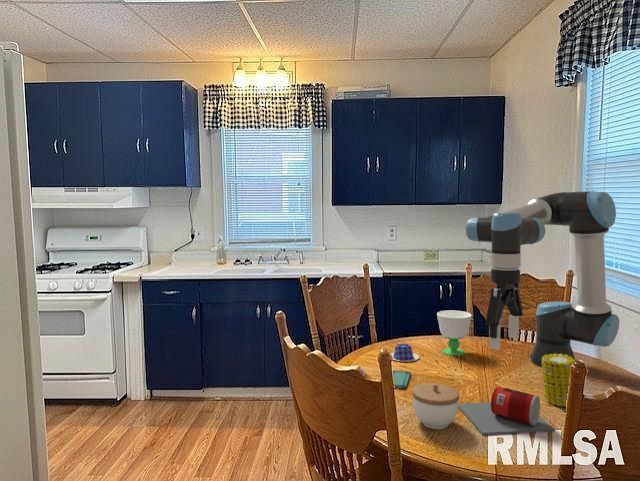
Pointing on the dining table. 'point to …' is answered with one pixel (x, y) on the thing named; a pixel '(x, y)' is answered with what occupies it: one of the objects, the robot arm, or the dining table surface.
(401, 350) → the pudding
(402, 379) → the smartphone
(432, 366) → the dining table surface
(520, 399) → the canned food
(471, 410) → the rubber mat
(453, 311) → the cup
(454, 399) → the lidded bowl
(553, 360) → the food
